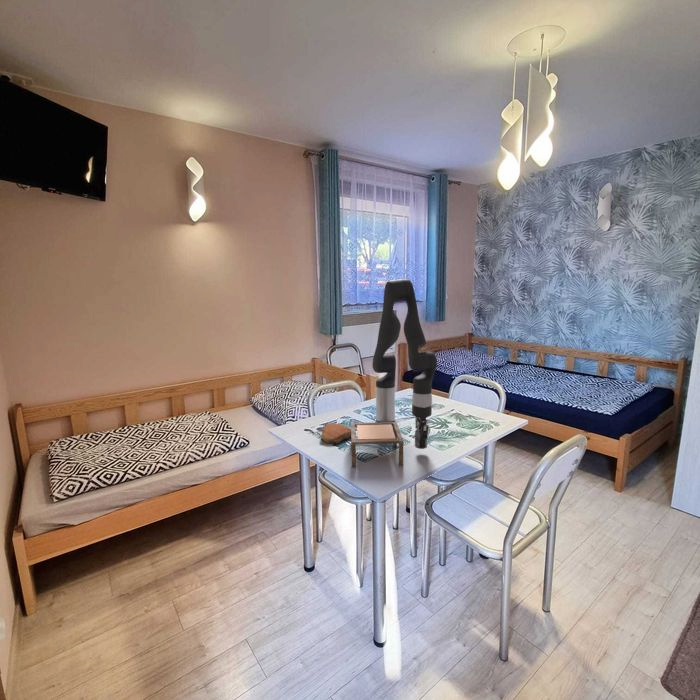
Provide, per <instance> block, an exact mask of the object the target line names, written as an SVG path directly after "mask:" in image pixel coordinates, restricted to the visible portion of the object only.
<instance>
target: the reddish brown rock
mask: <svg viewBox="0 0 700 700" xmlns="http://www.w3.org/2000/svg"><path fill="white" fill-rule="evenodd" d="M356 435H357V432H355V436H356ZM350 437H351V427H347V426H345V425H343V424H340V423H326V425H324V427H323V428H322V432H321V439H322V440H323V442H324V443H325V442H326V443H327V444H339V443H340V442H342V441H343V440H348V439H351V438H350Z"/></svg>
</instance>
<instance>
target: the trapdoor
mask: <svg viewBox="0 0 700 700" xmlns="http://www.w3.org/2000/svg"><path fill="white" fill-rule="evenodd" d="M356 430H357V432H356V434H357V440H392V439H396V438H395V435H394V432H393V426H392V425H391V424H385V425H357V427H356Z"/></svg>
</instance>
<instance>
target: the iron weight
mask: <svg viewBox="0 0 700 700" xmlns="http://www.w3.org/2000/svg"><path fill="white" fill-rule="evenodd" d="M420 430H421V429H420ZM423 435H424V434H423ZM419 442H420V438H419V432H418V430H414V447H415V448H417V449H419V450H420V449H421V450H424V449H427V448H428V438H427V439H426V443H425V447H424V448H421V447H420V446H419Z"/></svg>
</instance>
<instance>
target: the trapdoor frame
mask: <svg viewBox="0 0 700 700" xmlns="http://www.w3.org/2000/svg"><path fill="white" fill-rule="evenodd" d="M385 424H391V425H392V428H393V432H394V435H395V438H396V439H392V440H358V439H356V435H355V433H356V429H355V428H357V425H385ZM350 429H351V438H350V448H351V468H357V446H356V445H358V446H359V445H392V446H393V447H398V466H399V467H404V438H403V435H402V433H401V431H400V429H399V425H398V422H397V421H393V422H379V421H377V422H350Z"/></svg>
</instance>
